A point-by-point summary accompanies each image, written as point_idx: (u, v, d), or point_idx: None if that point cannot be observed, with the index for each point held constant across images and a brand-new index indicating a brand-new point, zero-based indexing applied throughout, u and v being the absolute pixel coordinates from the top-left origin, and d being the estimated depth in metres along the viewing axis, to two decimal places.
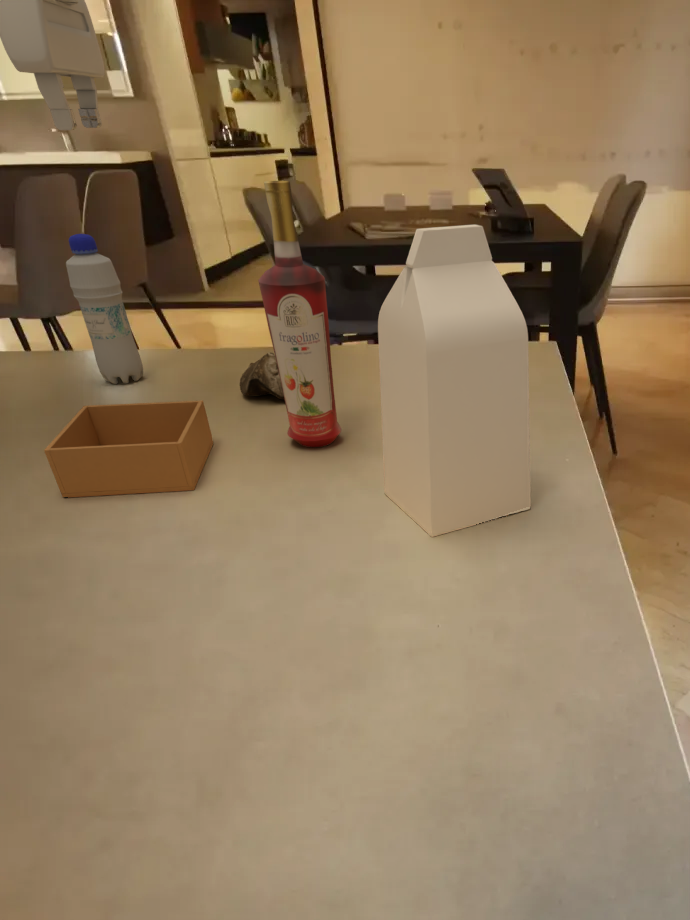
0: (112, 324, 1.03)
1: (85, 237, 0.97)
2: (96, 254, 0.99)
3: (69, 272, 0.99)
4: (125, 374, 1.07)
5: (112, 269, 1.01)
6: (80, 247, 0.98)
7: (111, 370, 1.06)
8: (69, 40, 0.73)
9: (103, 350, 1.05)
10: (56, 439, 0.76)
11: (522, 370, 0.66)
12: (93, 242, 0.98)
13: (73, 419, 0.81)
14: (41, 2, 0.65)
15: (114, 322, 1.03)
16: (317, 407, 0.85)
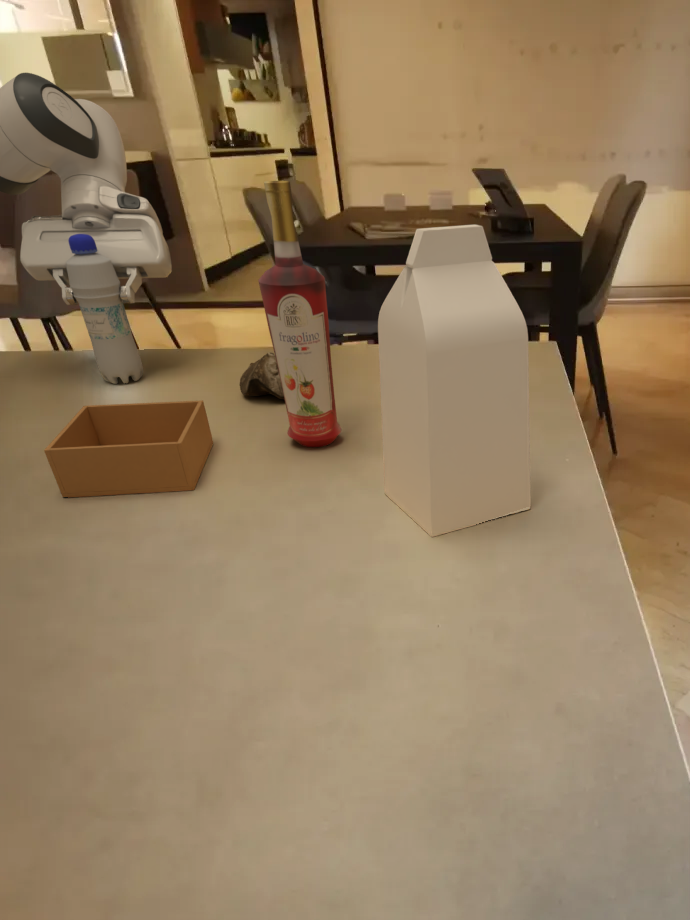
0: (112, 324, 1.03)
1: (85, 237, 0.97)
2: (96, 254, 0.99)
3: (69, 272, 0.99)
4: (125, 374, 1.07)
5: (112, 269, 1.01)
6: (80, 247, 0.97)
7: (111, 370, 1.06)
8: None
9: (103, 350, 1.05)
10: (56, 439, 0.76)
11: (522, 370, 0.66)
12: (93, 242, 0.98)
13: (73, 419, 0.81)
14: None
15: (114, 322, 1.03)
16: (317, 407, 0.85)
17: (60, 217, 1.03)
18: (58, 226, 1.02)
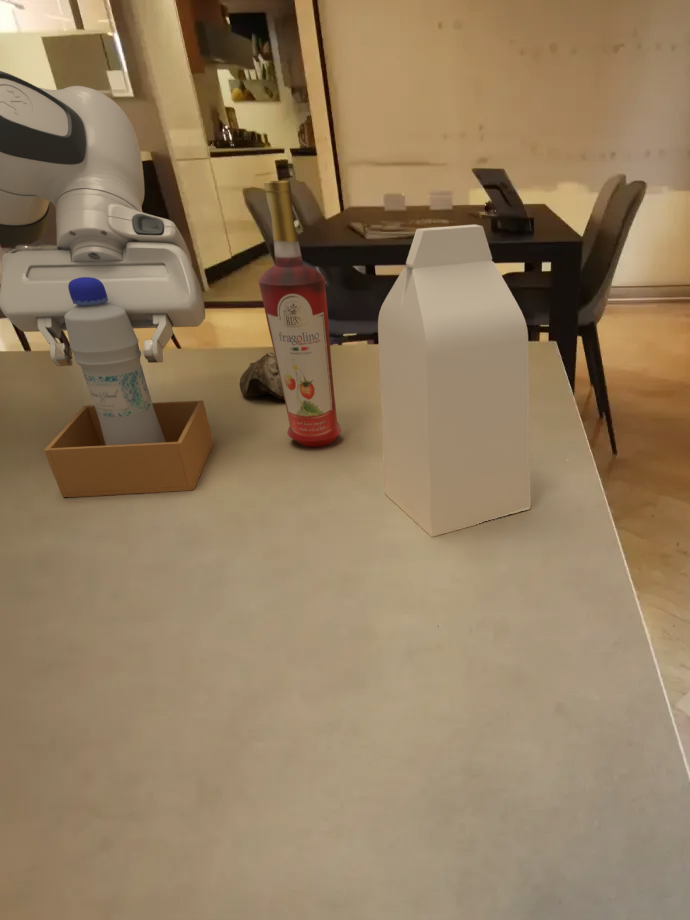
0: (127, 397, 0.76)
1: (91, 283, 0.70)
2: (106, 304, 0.72)
3: (69, 330, 0.72)
4: None
5: (128, 324, 0.74)
6: (84, 296, 0.70)
7: None
8: None
9: (114, 431, 0.78)
10: (56, 439, 0.76)
11: (522, 370, 0.66)
12: (102, 289, 0.71)
13: (73, 419, 0.81)
14: None
15: (130, 394, 0.76)
16: (317, 407, 0.85)
17: (54, 246, 0.76)
18: (52, 259, 0.74)
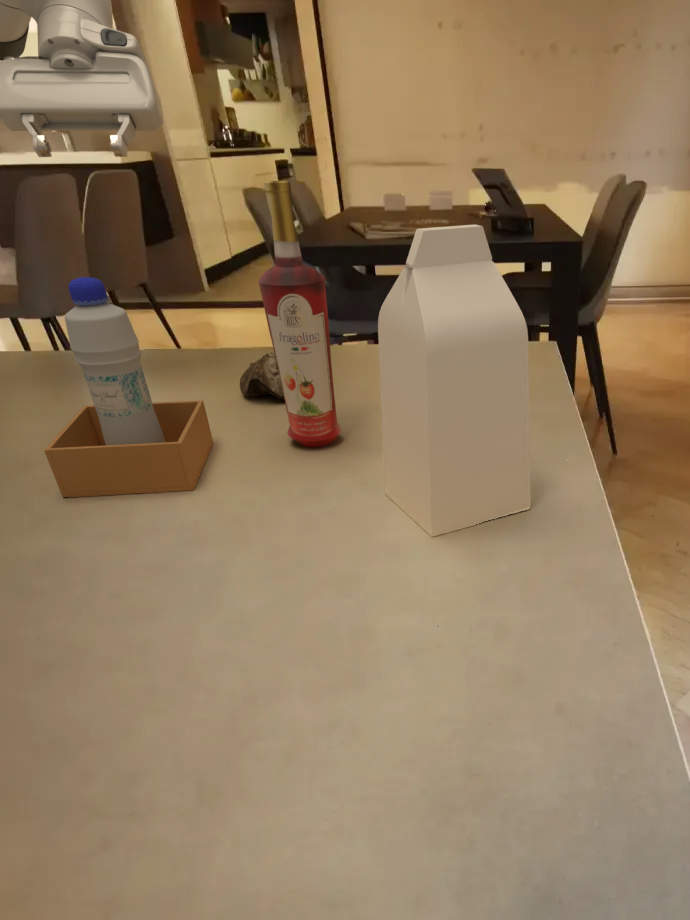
0: (127, 397, 0.76)
1: (91, 283, 0.70)
2: (106, 304, 0.72)
3: (69, 330, 0.72)
4: None
5: (128, 324, 0.74)
6: (84, 296, 0.70)
7: None
8: None
9: (114, 431, 0.78)
10: (56, 439, 0.76)
11: (522, 370, 0.66)
12: (102, 289, 0.71)
13: (73, 419, 0.81)
14: None
15: (130, 394, 0.76)
16: (317, 407, 0.85)
17: (36, 58, 0.91)
18: (34, 65, 0.89)
